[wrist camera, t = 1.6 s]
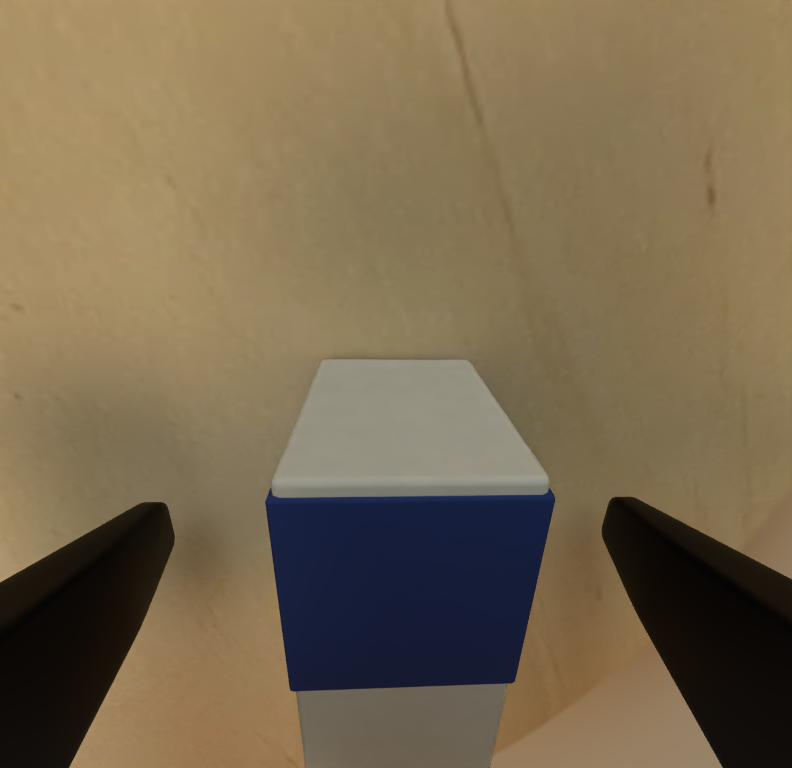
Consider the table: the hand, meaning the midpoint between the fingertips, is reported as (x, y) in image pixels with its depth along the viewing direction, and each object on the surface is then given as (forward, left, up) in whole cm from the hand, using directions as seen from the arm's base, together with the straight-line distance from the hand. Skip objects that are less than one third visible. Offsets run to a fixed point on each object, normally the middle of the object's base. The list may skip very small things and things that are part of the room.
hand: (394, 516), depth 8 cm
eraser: (0, 0, -1) cm, 1 cm away
